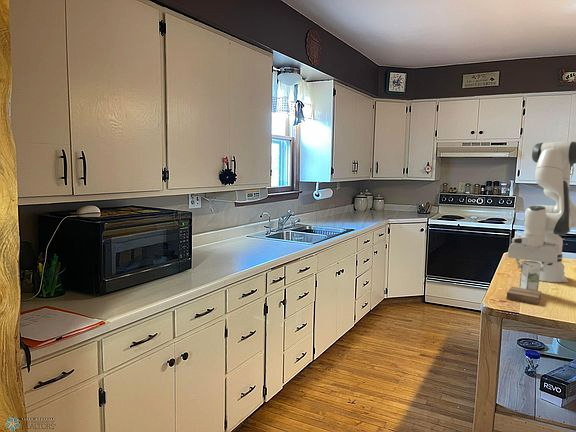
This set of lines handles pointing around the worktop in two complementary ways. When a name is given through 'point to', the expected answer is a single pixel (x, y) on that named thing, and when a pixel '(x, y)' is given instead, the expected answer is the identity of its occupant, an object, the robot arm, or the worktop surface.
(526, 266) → the syrup box
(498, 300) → the worktop surface
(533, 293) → the walnut base
